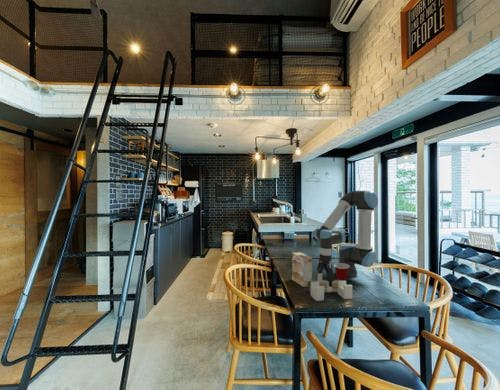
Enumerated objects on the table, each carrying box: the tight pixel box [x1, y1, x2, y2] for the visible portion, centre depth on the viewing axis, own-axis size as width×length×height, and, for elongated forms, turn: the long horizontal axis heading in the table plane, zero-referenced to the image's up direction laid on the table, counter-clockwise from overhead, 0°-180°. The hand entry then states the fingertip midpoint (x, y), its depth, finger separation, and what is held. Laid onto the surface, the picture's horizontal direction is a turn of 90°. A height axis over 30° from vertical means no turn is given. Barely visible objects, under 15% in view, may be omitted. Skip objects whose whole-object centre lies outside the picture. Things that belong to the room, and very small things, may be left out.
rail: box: [306, 279, 340, 294], centre depth 159 cm, size 4×22×6 cm, turn 99°
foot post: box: [337, 280, 353, 300], centre depth 151 cm, size 8×5×8 cm, turn 9°
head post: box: [310, 282, 325, 302], centre depth 149 cm, size 8×5×8 cm, turn 9°
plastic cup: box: [333, 262, 350, 281], centre depth 175 cm, size 11×11×12 cm
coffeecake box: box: [291, 251, 313, 288], centre depth 172 cm, size 15×7×20 cm, turn 21°
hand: (324, 287), depth 158 cm, fingers open, 13 cm apart
